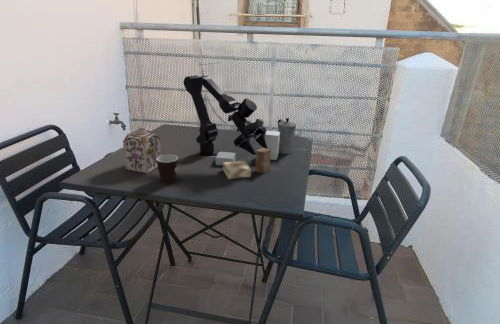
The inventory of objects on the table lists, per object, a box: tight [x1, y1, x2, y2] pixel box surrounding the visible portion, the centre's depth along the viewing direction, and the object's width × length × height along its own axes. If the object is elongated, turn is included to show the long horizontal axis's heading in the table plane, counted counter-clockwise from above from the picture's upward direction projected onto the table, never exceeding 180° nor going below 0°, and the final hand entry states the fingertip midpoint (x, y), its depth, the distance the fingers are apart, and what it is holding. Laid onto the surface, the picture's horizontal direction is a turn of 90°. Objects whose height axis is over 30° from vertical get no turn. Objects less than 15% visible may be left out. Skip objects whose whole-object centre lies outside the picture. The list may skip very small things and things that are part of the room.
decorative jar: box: [122, 127, 163, 174], centre depth 148 cm, size 12×12×18 cm
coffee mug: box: [156, 154, 179, 185], centre depth 138 cm, size 12×9×10 cm
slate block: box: [215, 151, 237, 166], centre depth 159 cm, size 8×8×4 cm
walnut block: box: [254, 147, 271, 175], centre depth 150 cm, size 4×5×10 cm
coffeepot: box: [277, 117, 297, 155], centre depth 174 cm, size 15×9×18 cm, turn 26°
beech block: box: [222, 160, 252, 180], centre depth 148 cm, size 10×10×4 cm
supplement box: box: [265, 130, 280, 161], centre depth 166 cm, size 7×7×13 cm
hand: (261, 151), depth 149 cm, fingers open, 9 cm apart
